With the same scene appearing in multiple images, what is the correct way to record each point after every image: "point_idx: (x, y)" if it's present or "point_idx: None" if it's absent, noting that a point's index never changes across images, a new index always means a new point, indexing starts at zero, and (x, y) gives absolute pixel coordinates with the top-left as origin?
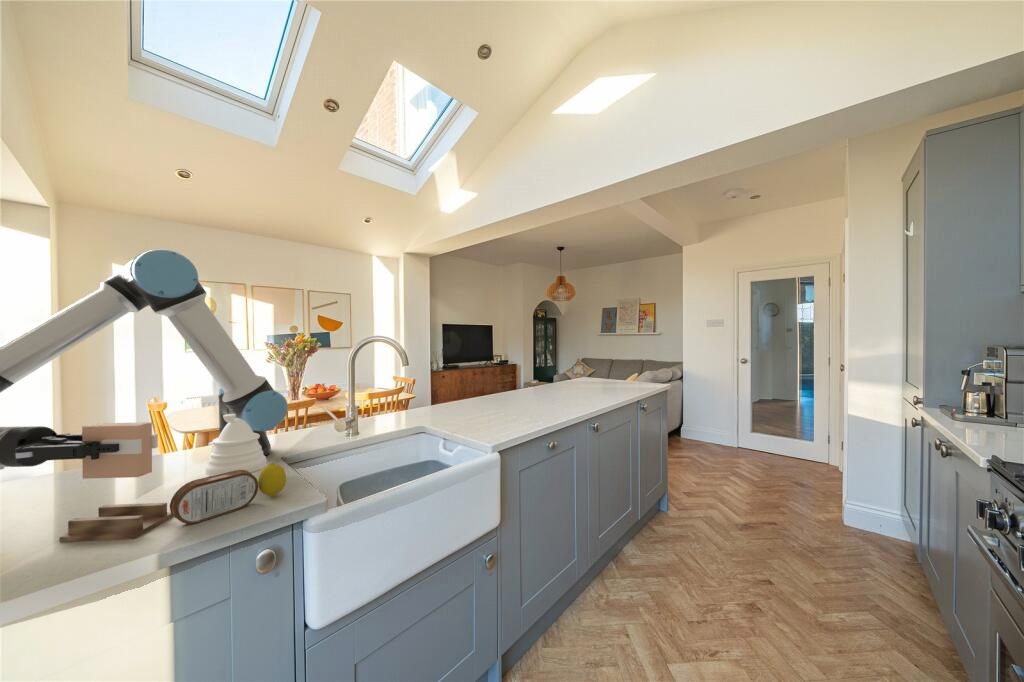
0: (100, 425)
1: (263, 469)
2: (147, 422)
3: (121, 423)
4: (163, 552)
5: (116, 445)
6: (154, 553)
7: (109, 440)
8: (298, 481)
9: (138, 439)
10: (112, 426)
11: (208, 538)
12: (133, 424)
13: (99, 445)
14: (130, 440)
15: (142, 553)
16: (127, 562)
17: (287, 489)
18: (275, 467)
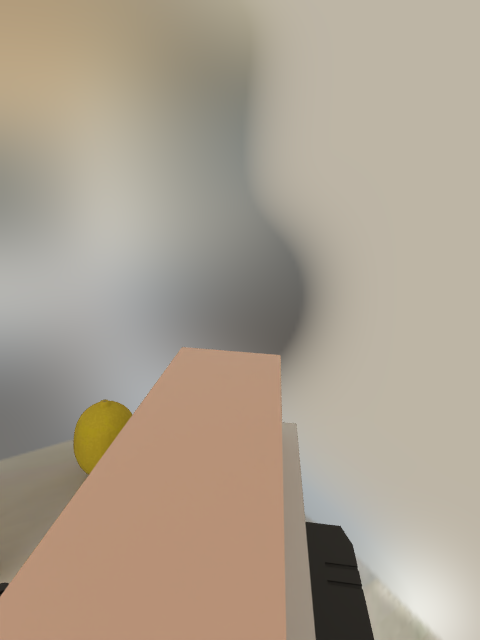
0: (214, 615)
1: (109, 421)
2: (179, 355)
3: (144, 454)
4: (370, 574)
5: (322, 531)
6: (378, 592)
7: (308, 566)
8: (23, 455)
9: (287, 425)
10: (282, 456)
11: (306, 516)
12: (234, 378)
13: (373, 637)
14: (298, 451)
15: (384, 625)
16: (428, 634)
17: (71, 462)
18: (118, 403)
